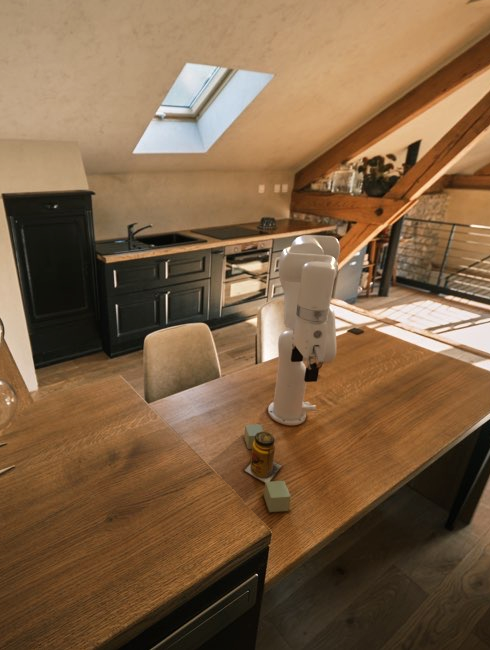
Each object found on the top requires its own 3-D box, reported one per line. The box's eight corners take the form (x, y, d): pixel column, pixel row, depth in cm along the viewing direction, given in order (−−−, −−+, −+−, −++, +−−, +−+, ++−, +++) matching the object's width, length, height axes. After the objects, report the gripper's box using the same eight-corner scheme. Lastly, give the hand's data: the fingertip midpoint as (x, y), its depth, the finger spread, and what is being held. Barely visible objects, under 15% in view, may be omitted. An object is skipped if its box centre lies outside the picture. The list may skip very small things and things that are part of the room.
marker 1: (259, 436, 122) (260, 424, 120) (263, 448, 117) (265, 435, 115) (243, 437, 121) (245, 425, 119) (247, 449, 117) (249, 436, 115)
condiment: (244, 471, 109) (247, 437, 104) (259, 454, 115) (262, 422, 110) (267, 484, 104) (271, 450, 100) (281, 466, 110) (286, 433, 106)
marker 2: (281, 494, 101) (284, 480, 99) (288, 511, 97) (290, 496, 95) (263, 495, 101) (265, 481, 99) (269, 512, 96) (271, 497, 94)
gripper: (343, 326, 87) (331, 389, 94) (313, 298, 103) (304, 354, 110) (311, 327, 86) (301, 390, 93) (285, 299, 102) (278, 355, 109)
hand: (303, 370), depth 101 cm, fingers open, 9 cm apart
